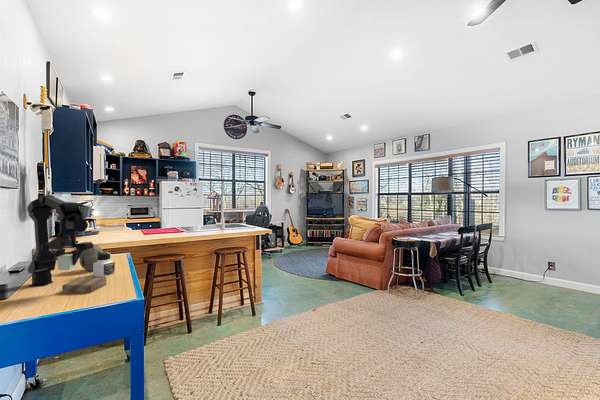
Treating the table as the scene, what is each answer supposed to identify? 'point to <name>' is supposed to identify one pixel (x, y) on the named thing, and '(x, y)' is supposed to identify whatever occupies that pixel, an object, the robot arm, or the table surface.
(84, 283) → the walnut block
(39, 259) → the robot arm
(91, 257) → the decorative egg
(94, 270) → the medicine bottle
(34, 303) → the table surface
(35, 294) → the table surface
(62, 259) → the sage pill box
